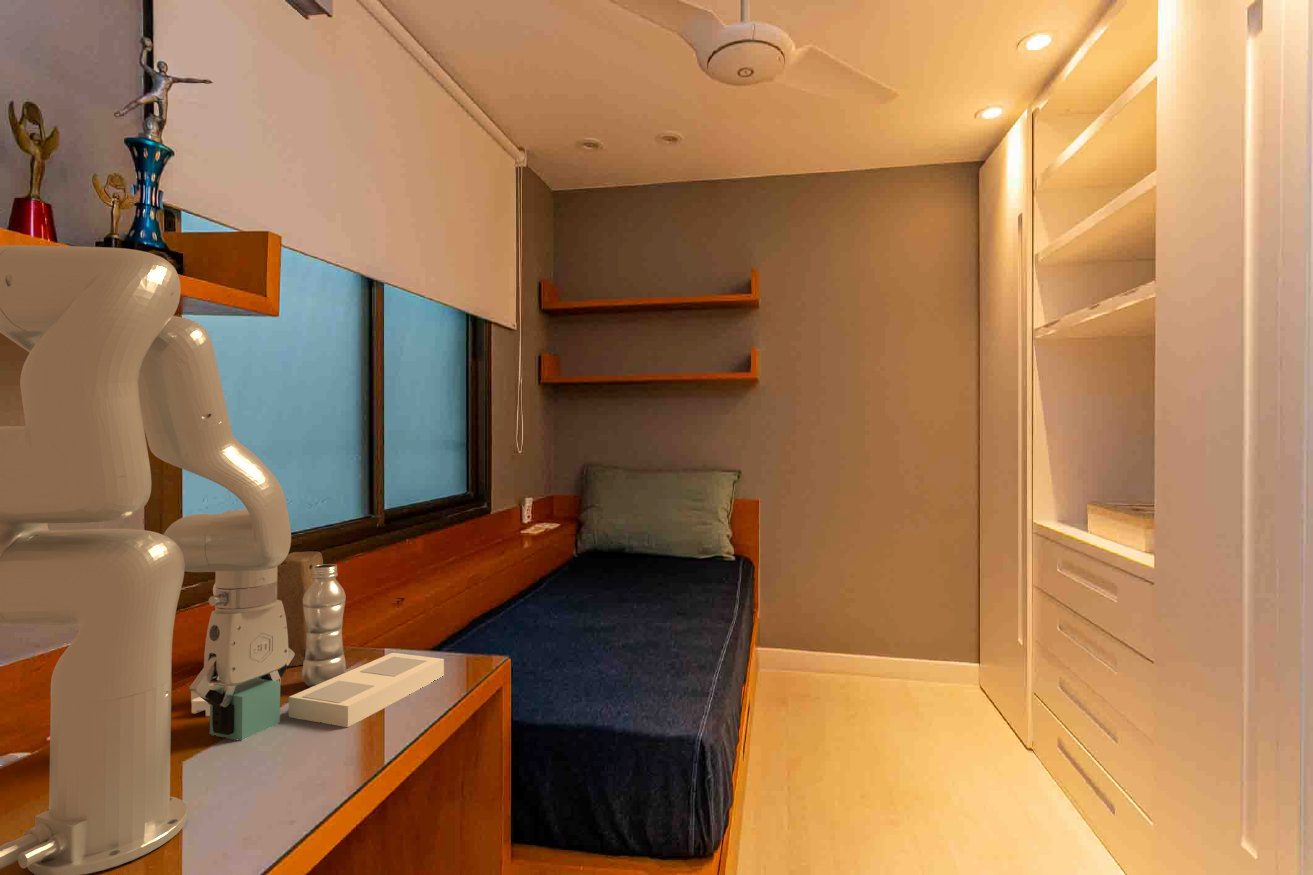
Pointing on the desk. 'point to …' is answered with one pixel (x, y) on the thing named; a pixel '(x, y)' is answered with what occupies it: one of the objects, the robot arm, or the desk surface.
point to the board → (365, 689)
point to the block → (296, 597)
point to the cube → (253, 708)
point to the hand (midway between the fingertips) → (245, 721)
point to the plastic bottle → (323, 626)
